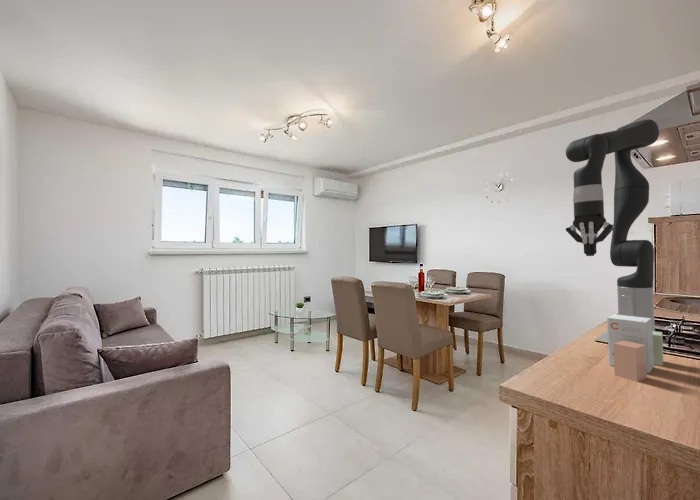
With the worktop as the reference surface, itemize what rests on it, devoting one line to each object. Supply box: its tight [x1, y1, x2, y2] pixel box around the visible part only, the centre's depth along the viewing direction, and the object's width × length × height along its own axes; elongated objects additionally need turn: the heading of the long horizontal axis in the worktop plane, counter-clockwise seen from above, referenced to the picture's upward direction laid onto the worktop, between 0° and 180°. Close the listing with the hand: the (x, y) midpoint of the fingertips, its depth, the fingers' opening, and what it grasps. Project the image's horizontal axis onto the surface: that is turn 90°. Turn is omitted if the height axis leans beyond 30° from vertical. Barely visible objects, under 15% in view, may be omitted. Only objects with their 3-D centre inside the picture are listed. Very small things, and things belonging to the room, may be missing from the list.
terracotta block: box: [613, 341, 648, 383], centre depth 78 cm, size 4×4×8 cm
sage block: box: [652, 330, 664, 367], centre depth 86 cm, size 4×4×8 cm
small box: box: [606, 313, 655, 374], centre depth 84 cm, size 8×6×13 cm
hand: (590, 255), depth 99 cm, fingers closed
